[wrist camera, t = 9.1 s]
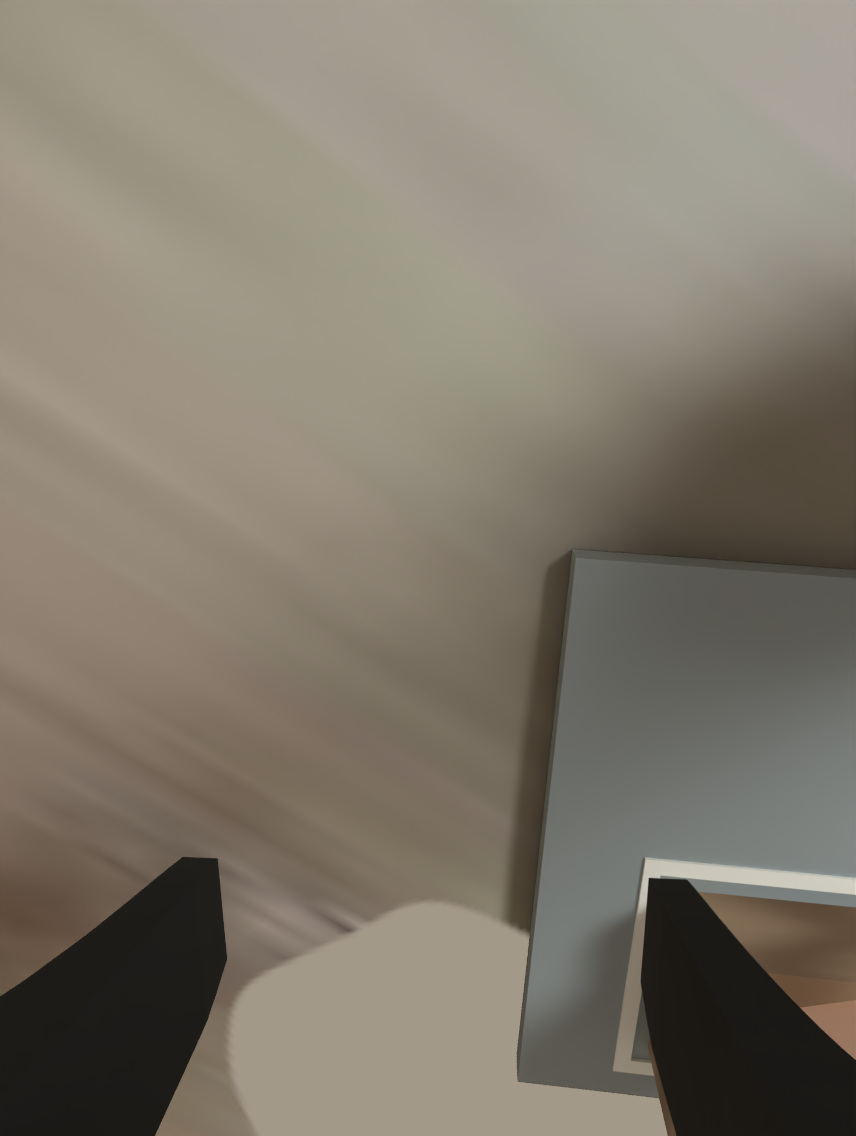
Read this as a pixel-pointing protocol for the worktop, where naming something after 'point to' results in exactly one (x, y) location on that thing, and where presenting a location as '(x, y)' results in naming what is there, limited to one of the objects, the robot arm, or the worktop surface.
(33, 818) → the worktop surface
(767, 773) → the build board
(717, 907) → the base block
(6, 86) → the worktop surface
